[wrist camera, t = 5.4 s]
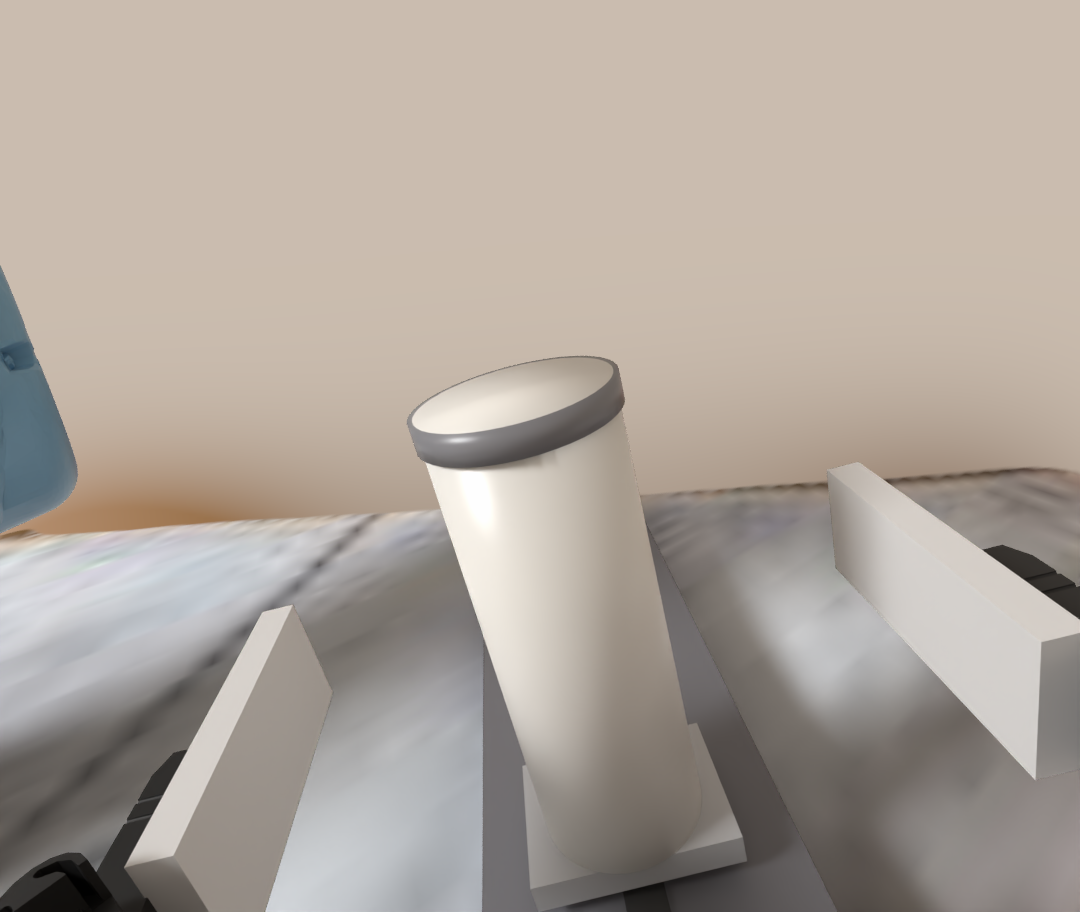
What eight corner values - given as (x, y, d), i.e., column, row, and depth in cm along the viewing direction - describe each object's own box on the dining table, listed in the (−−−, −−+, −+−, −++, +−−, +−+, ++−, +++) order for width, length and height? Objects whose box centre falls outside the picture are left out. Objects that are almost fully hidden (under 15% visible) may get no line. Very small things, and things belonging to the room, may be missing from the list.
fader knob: (752, 873, 15) (663, 388, 11) (539, 924, 15) (370, 463, 11) (697, 736, 19) (617, 338, 15) (528, 778, 19) (400, 394, 15)
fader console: (896, 1094, 14) (886, 970, 12) (514, 1184, 14) (459, 1073, 12) (650, 556, 34) (635, 486, 33) (497, 594, 34) (475, 527, 33)
